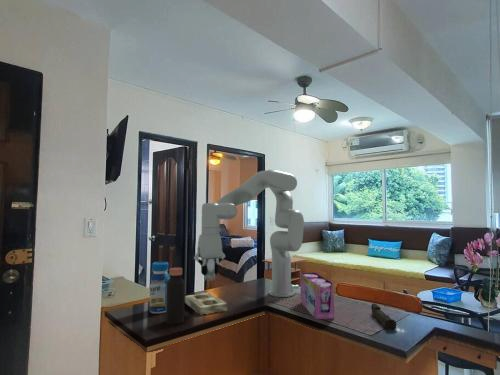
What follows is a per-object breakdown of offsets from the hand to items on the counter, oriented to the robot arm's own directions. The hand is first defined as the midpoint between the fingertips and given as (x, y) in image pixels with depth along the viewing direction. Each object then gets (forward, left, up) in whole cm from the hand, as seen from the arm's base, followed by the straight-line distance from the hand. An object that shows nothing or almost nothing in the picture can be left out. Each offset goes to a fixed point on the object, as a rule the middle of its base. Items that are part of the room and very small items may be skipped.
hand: (209, 273), depth 136 cm
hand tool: (-52, +45, -16) cm, 70 cm away
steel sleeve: (0, 0, -2) cm, 2 cm away
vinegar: (+17, +7, -15) cm, 24 cm away
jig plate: (0, -5, -15) cm, 16 cm away
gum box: (-40, +23, -15) cm, 48 cm away
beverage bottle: (+19, -9, -15) cm, 26 cm away
